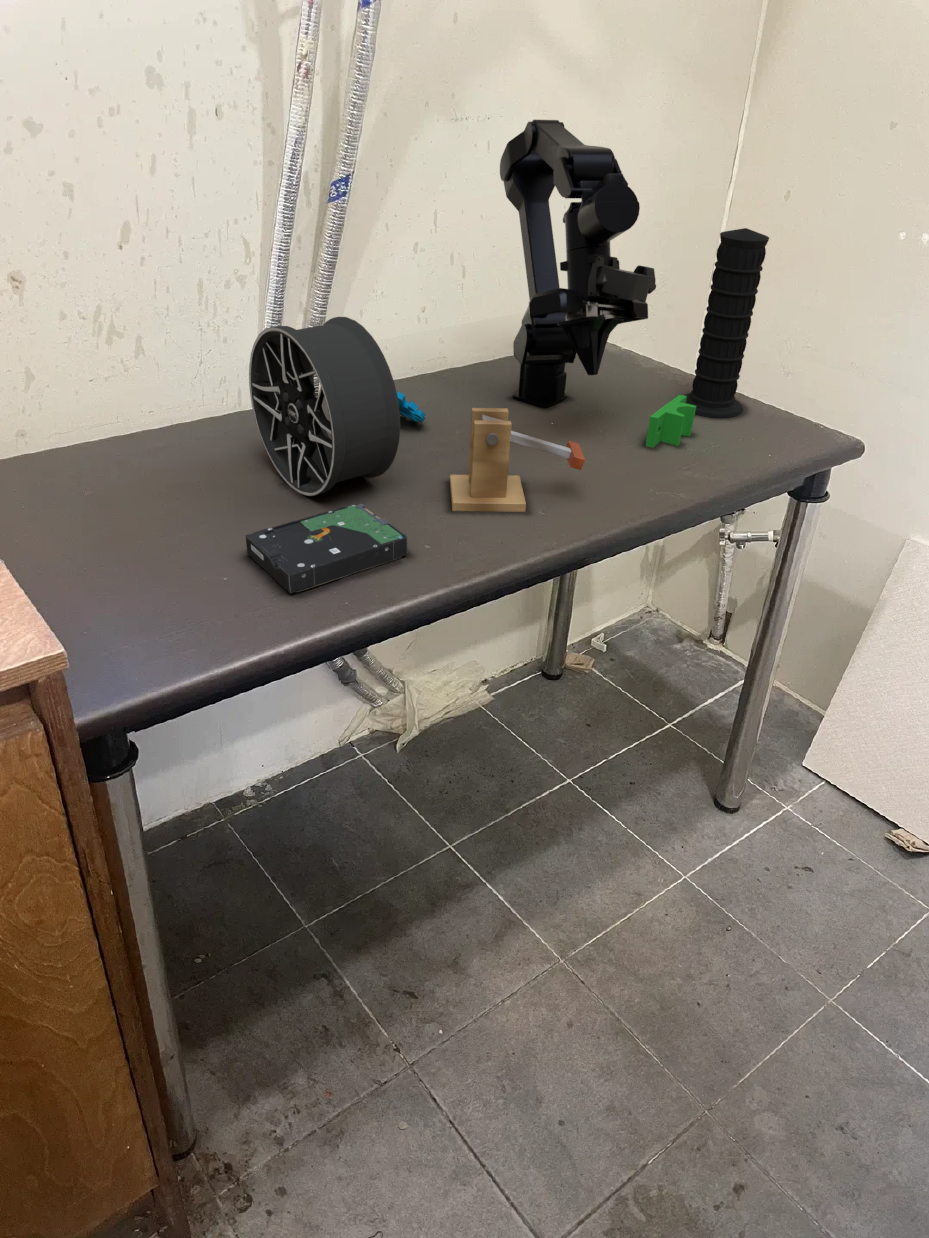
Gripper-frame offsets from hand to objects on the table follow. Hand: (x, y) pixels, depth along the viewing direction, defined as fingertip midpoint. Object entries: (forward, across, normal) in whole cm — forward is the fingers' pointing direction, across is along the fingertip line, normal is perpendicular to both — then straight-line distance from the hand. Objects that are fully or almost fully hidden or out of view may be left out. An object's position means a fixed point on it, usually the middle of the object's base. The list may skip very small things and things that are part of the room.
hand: (592, 375), depth 122 cm
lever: (+9, -16, -2) cm, 18 cm away
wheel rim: (+12, -31, +20) cm, 38 cm away
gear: (+5, -12, +27) cm, 30 cm away
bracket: (+15, -18, +4) cm, 24 cm away
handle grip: (+4, +32, +1) cm, 32 cm away
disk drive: (+20, -41, +6) cm, 46 cm away
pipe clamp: (+9, +16, -2) cm, 19 cm away
